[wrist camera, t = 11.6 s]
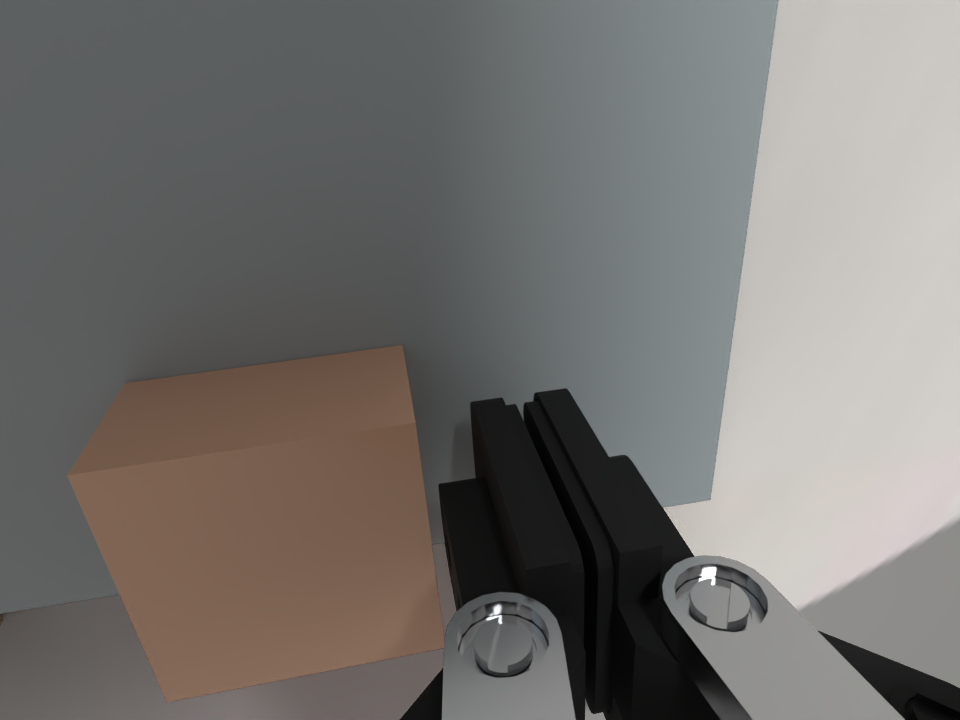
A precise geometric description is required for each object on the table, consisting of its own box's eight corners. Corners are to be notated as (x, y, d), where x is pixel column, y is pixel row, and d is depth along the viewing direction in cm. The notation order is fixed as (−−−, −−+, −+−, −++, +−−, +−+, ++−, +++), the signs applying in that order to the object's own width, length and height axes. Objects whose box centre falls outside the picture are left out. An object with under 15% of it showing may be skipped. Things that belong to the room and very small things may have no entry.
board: (-320, -75, 9) (-484, -101, 7) (724, -109, 11) (796, -135, 9) (-7, 547, 14) (-58, 623, 12) (670, 447, 16) (710, 499, 14)
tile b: (124, 383, 11) (67, 475, 9) (402, 345, 11) (415, 422, 9) (197, 585, 13) (167, 702, 11) (429, 545, 13) (446, 648, 11)
